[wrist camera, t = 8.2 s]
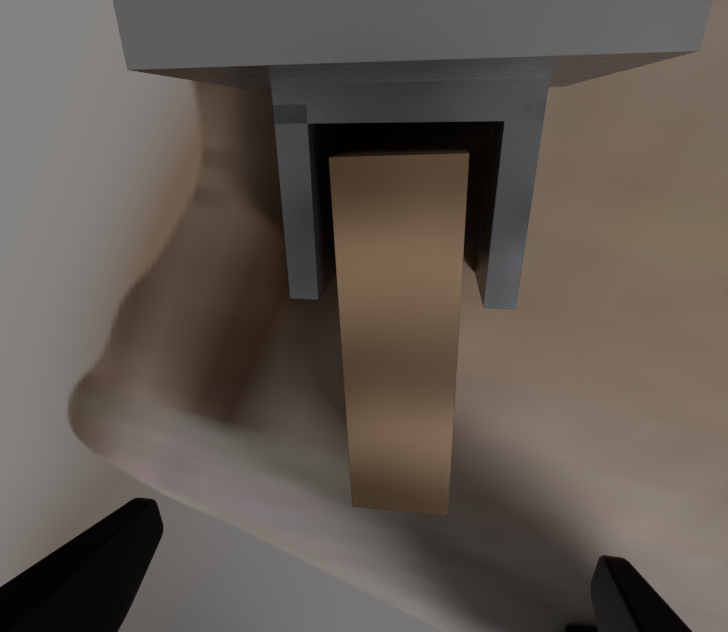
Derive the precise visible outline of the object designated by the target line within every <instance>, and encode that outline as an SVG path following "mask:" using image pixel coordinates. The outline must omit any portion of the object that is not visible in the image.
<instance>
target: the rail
mask: <svg viewBox="0 0 728 632" xmlns="http://www.w3.org/2000/svg"><path fill="white" fill-rule="evenodd" d="M329 168H330V182H331V197H332V212H333V227H334V242H335V256H336V271H337V286H338V301H339V316H340V330H341V345H342V360H343V375H344V390H345V405H346V419H347V434H348V449H349V464H350V479H351V493H352V506H353V507H363V508H373V509H383V510H393V511H403V512H412V513H422V514H432V515H442V516H448V505H449V489H450V472H451V455H452V438H453V421H454V404H455V387H456V370H457V353H458V337H459V320H460V303H461V286H462V269H463V252H464V235H465V218H466V201H467V184H468V168H469V152H468V151H467V150H466V149H465V148H464V147H463V146H443V147H411V148H380V149H352V150H349V151H346V152H343V153H340V154H337V155H334V156H332V157H329Z"/></svg>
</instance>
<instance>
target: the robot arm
mask: <svg viewBox="0 0 728 632" xmlns="http://www.w3.org/2000/svg"><path fill="white" fill-rule="evenodd" d="M162 534H163V522H162V519H161V516H160V512H159V509H158V505H157V503H156V501H155V500H153V499H147V498H135V499H133V500H131V501H129V502H128V503H126V504H125V505H124V506H122V507H120V508H119V509H117V510H116V511H114V512H113V513H111V514H110V515H108V516H107V517H105V518H104V519H102V520H101V521H100V522H98V523H96V524H95V525H93V526H92V527H90V528H89V529H87V530H86V531H84V532H83V533H81V534H80V535H78V536H77V537H75V538H74V539H72V540H71V541H69V542H68V543H66V544H65V545H63V546H62V547H60V548H59V549H57V550H56V551H54V552H52V553H51V554H49V555H48V556H46V557H45V558H43V559H42V560H41V561H39V562H37V563H36V564H34V565H33V566H31V567H30V568H28V569H27V570H25V571H24V572H22V573H21V574H19V575H18V576H16V577H15V578H13V579H12V580H10V581H9V582H7V583H6V584H4V585H3V586H1V587H0V632H118V630H119V628H120V626H121V624H122V623H123V621H124V619H125V617H126V615H127V613H128V611H129V609H130V607H131V605H132V603H133V601H134V598H135V596H136V594H137V592H138V589H139V587H140V585H141V583H142V580H143V578H144V576H145V574H146V571H147V569H148V567H149V564H150V562H151V560H152V558H153V555H154V553H155V551H156V549H157V546H158V544H159V542H160V540H161V537H162ZM591 598H592V603H593V608H594V613H595V618H596V623H597V628H598V630H595V629H589V628H582V627H574V626H572V627H568V628H566V629H565V631H564V632H692V631H691V630H690V629H689V628H688V626H687V625H686V624H685V623H684V622H683V621H682V620H681V619H680V618H679V616H678V615H677V614H676V613H675V612H674V611H673V610H672V609H671V608H670V607H669V605H668V604H667V603H666V602H665V601H664V600H663V599H662V598H661V597H660V596H659V594H658V593H657V592H656V591H655V590H654V589H653V588H652V587H651V586H650V585H649V583H648V582H647V581H646V580H645V579H644V578H643V577H642V576H641V575H640V573H639V572H638V571H637V570H636V569H635V568H634V567H633V566H632V565H631V564H630V563H629V562H628V561H627V560H626V559H624V558H621V557H615V556H606V555H602V556H601V557H600V558H599V560H598V562H597V566H596V569H595V572H594V575H593V578H592V581H591Z"/></svg>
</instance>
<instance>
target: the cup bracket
mask: <svg viewBox="0 0 728 632" xmlns="http://www.w3.org/2000/svg"><path fill="white" fill-rule="evenodd" d="M113 3H114V8H115V12H116V17H117V22H118V27H119V32H120V36H121V41H122V46H123V51H124V56H125V60H126V65H127V70H131V71H138V72H144V73H150V74H156V75H162V76H169V77H175V78H181V79H187V80H193V81H200V82H206V83H212V84H218V85H224V86H231V87H237V88H243V89H249V90H256V91H262V92H268V93H272V102H273V113H274V124H275V135H276V146H277V157H278V169H279V180H280V191H281V202H282V213H283V224H284V235H285V246H286V258H287V269H288V280H289V291H290V298H295V299H316V300H318V299H319V298H320V296H321V295H322V293H323V292H324V290H325V289H326V287H327V286H328V284H329V283H330V281H331V280H332V278H333V277H334V275H335V274H336V272H337V271H336V256H335V242H334V227H333V212H332V197H331V182H330V168H329V157H332V156H334V155H335V139H334V123H392V122H473V121H490V128H489V138H488V148H487V158H486V168H485V178H484V188H483V198H482V208H481V218H480V228H479V238H478V248H477V258H476V268H475V275H476V279H477V283H478V287H479V291H480V296H481V300H482V304H483V308H499V309H516V303H517V296H518V289H519V283H520V276H521V269H522V262H523V256H524V249H525V242H526V235H527V228H528V222H529V215H530V208H531V201H532V194H533V188H534V181H535V174H536V167H537V160H538V154H539V147H540V140H541V133H542V126H543V120H544V113H545V106H546V99H547V92H548V87H557V86H568V85H572V84H575V83H579V82H583V81H587V80H591V79H594V78H598V77H602V76H606V75H610V74H613V73H617V72H621V71H625V70H628V69H632V68H636V67H640V66H644V65H647V64H651V63H655V62H659V61H663V60H666V59H670V58H674V57H678V56H682V55H685V54H689V53H693V52H697V51H699V49H700V45H701V41H702V38H703V34H704V30H705V26H706V23H707V19H708V15H709V12H710V8H711V4H712V0H113Z"/></svg>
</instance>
